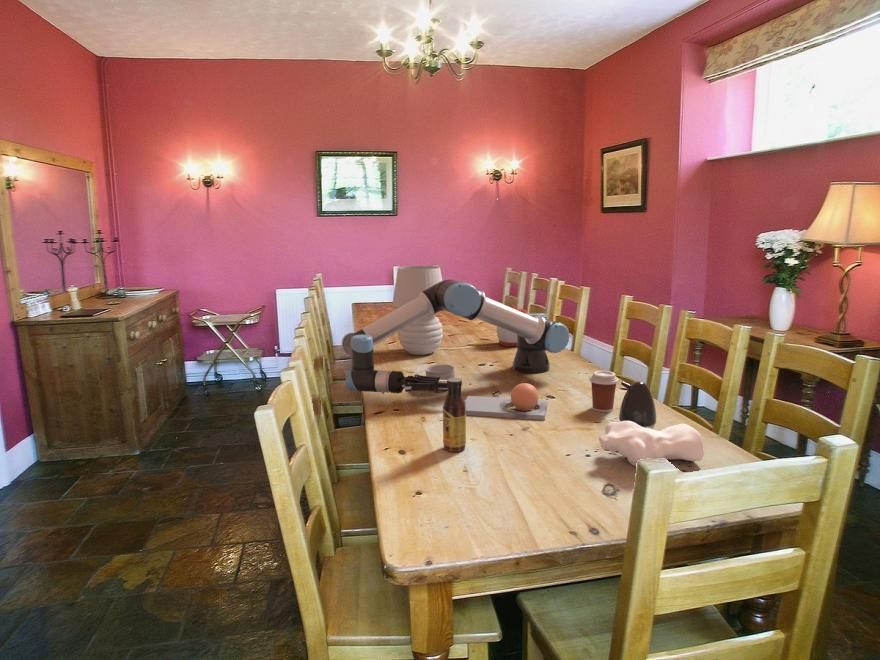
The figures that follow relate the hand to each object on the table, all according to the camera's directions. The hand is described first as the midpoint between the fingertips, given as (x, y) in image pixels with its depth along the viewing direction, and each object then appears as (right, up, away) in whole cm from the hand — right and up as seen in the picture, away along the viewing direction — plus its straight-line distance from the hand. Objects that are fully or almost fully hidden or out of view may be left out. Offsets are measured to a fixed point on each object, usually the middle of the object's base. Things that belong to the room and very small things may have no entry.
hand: (458, 385), depth 189 cm
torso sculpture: (+47, -16, -42) cm, 65 cm away
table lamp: (-15, +8, +80) cm, 81 cm away
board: (+15, -8, -2) cm, 17 cm away
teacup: (-6, -3, +24) cm, 25 cm away
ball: (+22, -3, -4) cm, 22 cm away
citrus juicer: (+29, +11, +93) cm, 98 cm away
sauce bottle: (-2, -14, -33) cm, 36 cm away
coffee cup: (+47, -8, -3) cm, 48 cm away
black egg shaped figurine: (+51, -12, -23) cm, 57 cm away
